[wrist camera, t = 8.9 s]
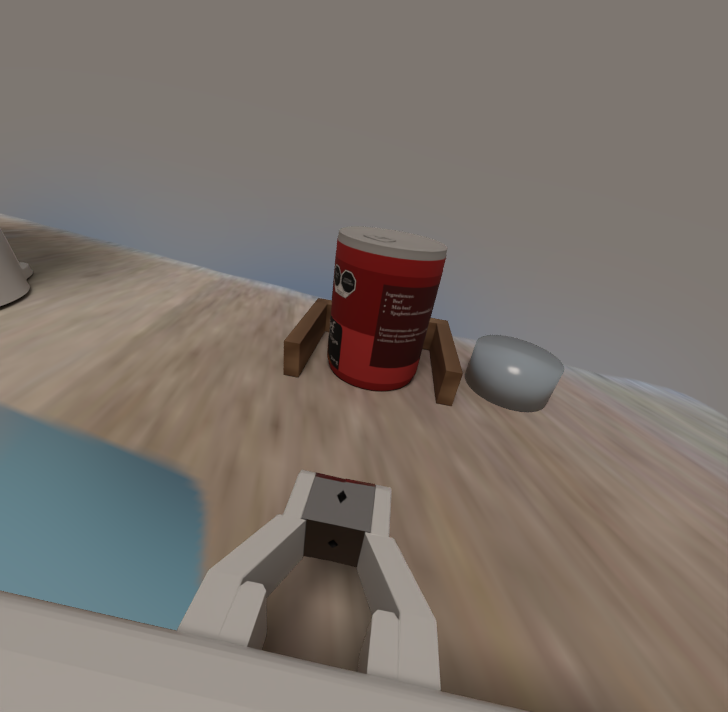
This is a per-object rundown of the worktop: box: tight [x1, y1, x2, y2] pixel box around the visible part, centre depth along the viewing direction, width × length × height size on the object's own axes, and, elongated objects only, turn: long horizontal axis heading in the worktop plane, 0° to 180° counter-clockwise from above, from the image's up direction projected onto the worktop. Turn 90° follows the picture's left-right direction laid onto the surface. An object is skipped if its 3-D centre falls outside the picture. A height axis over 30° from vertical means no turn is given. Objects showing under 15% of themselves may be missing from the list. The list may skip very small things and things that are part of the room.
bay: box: [284, 298, 463, 406], centre depth 28 cm, size 13×10×3 cm
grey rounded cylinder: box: [465, 335, 564, 412], centre depth 27 cm, size 7×7×4 cm
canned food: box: [327, 227, 447, 391], centre depth 25 cm, size 8×8×11 cm
